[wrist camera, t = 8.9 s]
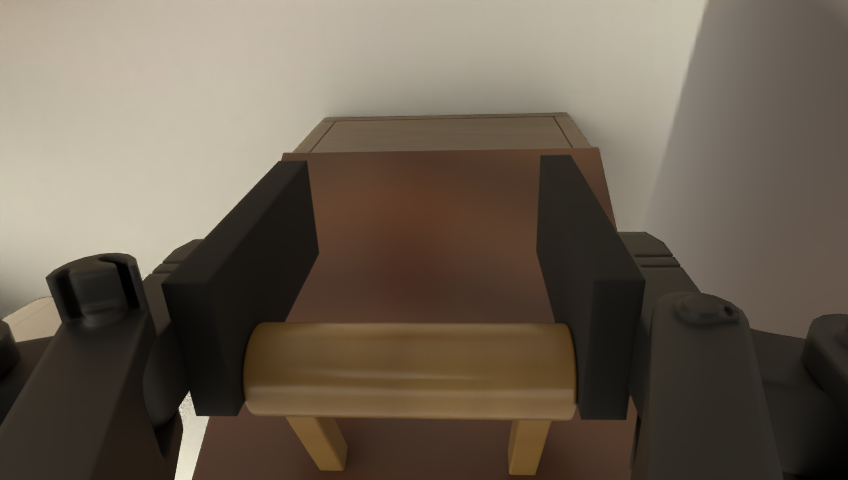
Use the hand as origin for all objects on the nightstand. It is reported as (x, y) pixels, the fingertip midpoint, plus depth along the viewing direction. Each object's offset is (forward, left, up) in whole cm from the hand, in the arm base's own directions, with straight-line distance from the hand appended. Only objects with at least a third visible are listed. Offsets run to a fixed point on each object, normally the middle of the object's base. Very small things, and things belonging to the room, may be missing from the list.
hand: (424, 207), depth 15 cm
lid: (0, +5, -2) cm, 5 cm away
